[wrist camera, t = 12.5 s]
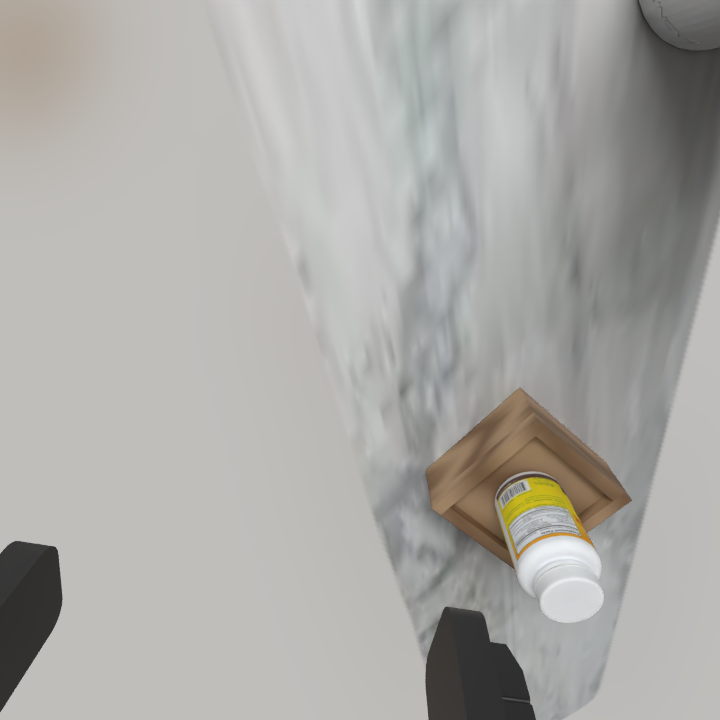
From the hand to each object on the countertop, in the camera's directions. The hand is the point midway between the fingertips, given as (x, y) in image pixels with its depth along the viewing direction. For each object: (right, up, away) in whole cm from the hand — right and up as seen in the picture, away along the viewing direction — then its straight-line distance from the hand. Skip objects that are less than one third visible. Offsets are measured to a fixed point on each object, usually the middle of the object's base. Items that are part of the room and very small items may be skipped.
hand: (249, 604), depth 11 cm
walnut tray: (+16, -4, +34) cm, 38 cm away
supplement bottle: (+16, -6, +31) cm, 35 cm away
